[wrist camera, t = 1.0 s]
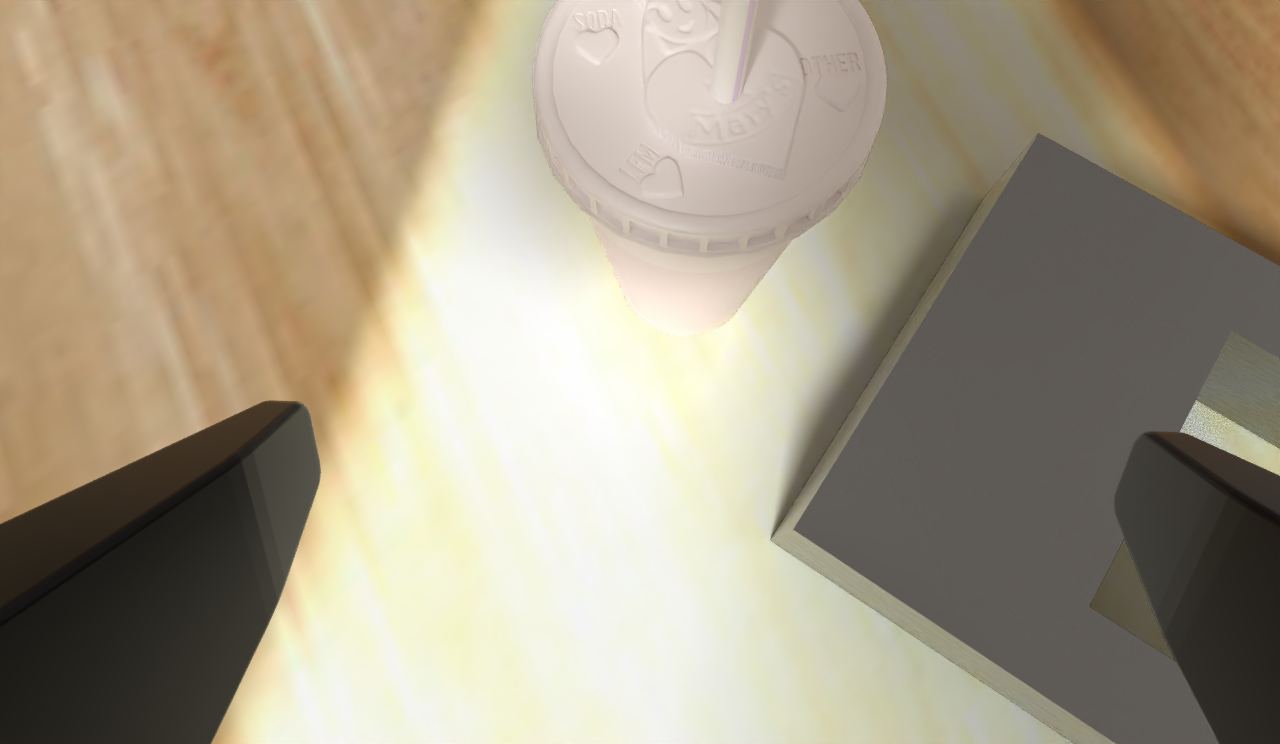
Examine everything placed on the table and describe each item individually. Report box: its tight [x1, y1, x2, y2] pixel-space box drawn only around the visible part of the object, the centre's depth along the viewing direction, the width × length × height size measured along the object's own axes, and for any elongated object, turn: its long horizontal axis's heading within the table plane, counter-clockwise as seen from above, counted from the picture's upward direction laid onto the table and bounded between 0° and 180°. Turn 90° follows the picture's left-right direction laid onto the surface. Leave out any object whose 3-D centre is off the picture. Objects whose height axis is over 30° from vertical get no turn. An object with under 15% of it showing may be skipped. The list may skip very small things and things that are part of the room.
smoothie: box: [532, 0, 887, 336], centre depth 17 cm, size 6×6×14 cm
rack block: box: [771, 133, 1280, 744], centre depth 20 cm, size 12×20×4 cm, turn 56°
